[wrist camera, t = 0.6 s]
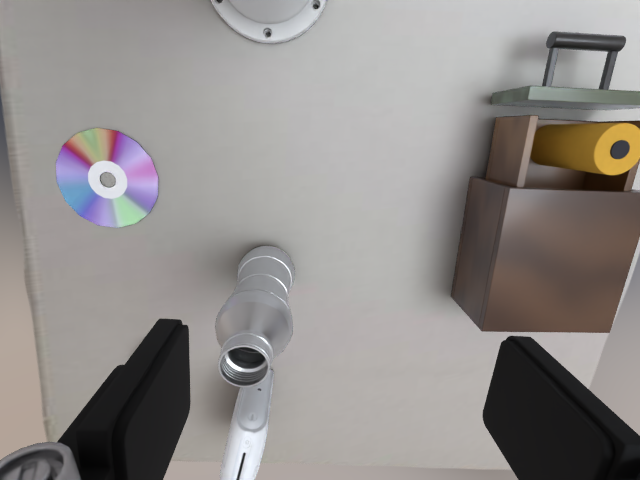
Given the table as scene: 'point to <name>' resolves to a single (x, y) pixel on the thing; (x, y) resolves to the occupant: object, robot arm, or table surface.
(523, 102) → the drawer
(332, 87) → the table surface
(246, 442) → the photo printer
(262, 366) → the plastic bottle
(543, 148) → the roller
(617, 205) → the cabinet
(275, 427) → the table surface
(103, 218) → the cd
